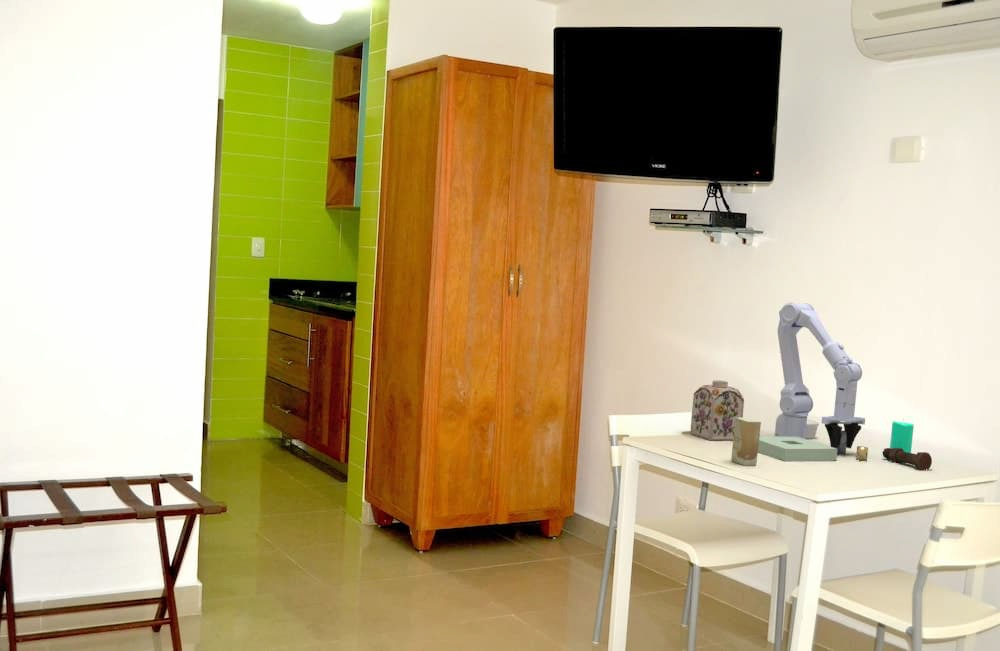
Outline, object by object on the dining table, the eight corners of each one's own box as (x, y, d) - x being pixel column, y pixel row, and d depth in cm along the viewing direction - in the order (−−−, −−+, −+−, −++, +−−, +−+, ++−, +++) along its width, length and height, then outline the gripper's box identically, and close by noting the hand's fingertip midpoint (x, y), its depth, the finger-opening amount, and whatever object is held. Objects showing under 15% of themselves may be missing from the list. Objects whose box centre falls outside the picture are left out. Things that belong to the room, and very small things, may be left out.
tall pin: (832, 453, 288) (835, 430, 288) (840, 453, 289) (843, 430, 289) (839, 455, 286) (841, 432, 285) (847, 455, 287) (850, 432, 286)
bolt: (886, 465, 285) (926, 475, 271) (875, 457, 284) (914, 466, 270) (895, 448, 286) (935, 457, 272) (884, 440, 285) (924, 448, 271)
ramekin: (797, 439, 309) (798, 423, 308) (774, 433, 319) (776, 417, 319) (824, 439, 313) (826, 423, 313) (802, 433, 323) (803, 417, 323)
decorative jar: (741, 440, 299) (746, 383, 298) (710, 441, 294) (715, 383, 293) (719, 433, 310) (724, 378, 309) (688, 433, 306) (693, 377, 304)
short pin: (853, 459, 280) (854, 446, 280) (861, 459, 281) (863, 446, 281) (860, 461, 277) (862, 448, 277) (869, 461, 278) (870, 448, 278)
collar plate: (746, 448, 286) (747, 436, 286) (796, 448, 293) (797, 436, 292) (784, 461, 270) (785, 448, 269) (836, 460, 276) (837, 448, 276)
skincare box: (730, 460, 265) (734, 417, 264) (743, 460, 266) (747, 417, 265) (744, 465, 259) (748, 421, 258) (757, 465, 260) (761, 421, 259)
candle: (885, 456, 289) (889, 417, 288) (893, 454, 293) (897, 415, 293) (905, 460, 285) (909, 420, 284) (913, 458, 289) (917, 419, 288)
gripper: (834, 404, 280) (830, 450, 281) (874, 405, 285) (869, 450, 286) (818, 400, 287) (814, 445, 288) (857, 401, 292) (853, 445, 293)
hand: (840, 447), depth 287 cm, fingers open, 5 cm apart
